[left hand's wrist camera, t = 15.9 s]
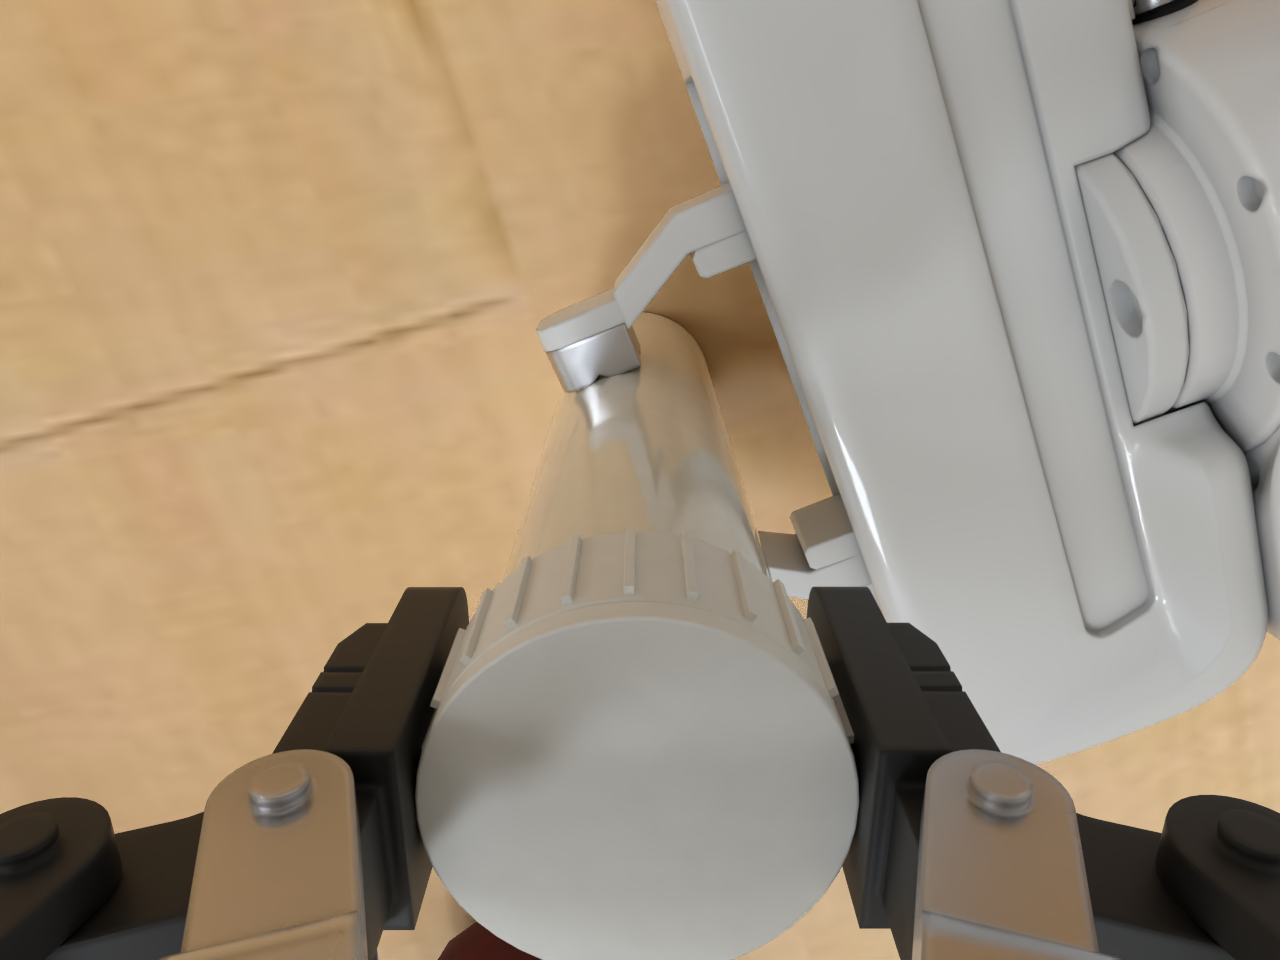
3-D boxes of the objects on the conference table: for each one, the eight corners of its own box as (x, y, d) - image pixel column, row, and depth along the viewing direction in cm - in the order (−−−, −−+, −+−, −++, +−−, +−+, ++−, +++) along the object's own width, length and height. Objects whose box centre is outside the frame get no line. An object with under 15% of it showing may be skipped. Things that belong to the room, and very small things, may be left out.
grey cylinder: (630, 281, 25) (614, 537, 9) (737, 374, 26) (900, 757, 10) (539, 389, 26) (379, 790, 10) (645, 474, 27) (656, 968, 11)
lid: (386, 586, 11) (330, 685, 9) (774, 471, 10) (806, 551, 8) (524, 882, 12) (503, 1022, 10) (865, 796, 12) (910, 926, 10)
